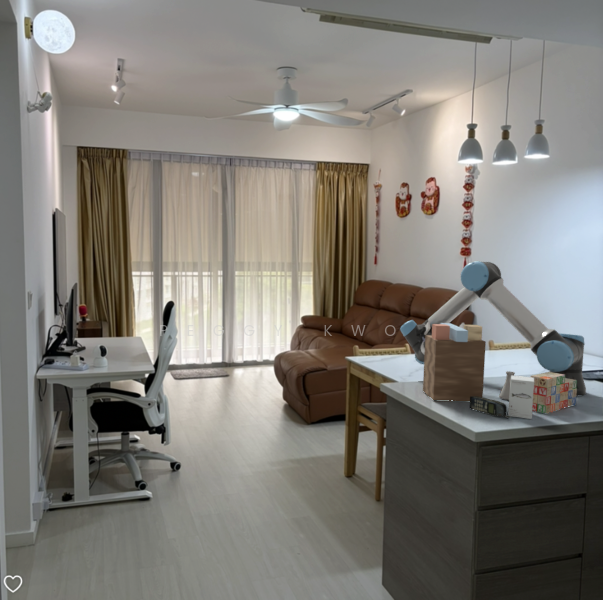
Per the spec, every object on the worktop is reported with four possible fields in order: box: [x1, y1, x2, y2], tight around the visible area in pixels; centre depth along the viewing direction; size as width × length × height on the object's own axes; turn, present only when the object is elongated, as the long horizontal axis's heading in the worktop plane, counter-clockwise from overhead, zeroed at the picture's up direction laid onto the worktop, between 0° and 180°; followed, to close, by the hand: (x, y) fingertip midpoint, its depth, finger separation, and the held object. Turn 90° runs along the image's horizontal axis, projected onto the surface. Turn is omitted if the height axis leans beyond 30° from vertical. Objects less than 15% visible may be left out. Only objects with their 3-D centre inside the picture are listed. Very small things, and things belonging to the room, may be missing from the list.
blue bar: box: [440, 322, 468, 342], centre depth 210 cm, size 22×4×4 cm, turn 1°
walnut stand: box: [422, 335, 486, 402], centre depth 209 cm, size 14×18×22 cm
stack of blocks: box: [530, 371, 577, 414], centre depth 198 cm, size 21×6×12 cm, turn 128°
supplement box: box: [507, 375, 534, 420], centre depth 187 cm, size 7×7×13 cm
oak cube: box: [464, 324, 483, 340], centre depth 206 cm, size 5×5×5 cm
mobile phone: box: [469, 396, 512, 419], centre depth 188 cm, size 5×3×15 cm
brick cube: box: [432, 324, 450, 340], centre depth 206 cm, size 5×5×5 cm
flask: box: [498, 370, 516, 401], centre depth 209 cm, size 7×7×10 cm
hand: (446, 325), depth 217 cm, fingers open, 13 cm apart
